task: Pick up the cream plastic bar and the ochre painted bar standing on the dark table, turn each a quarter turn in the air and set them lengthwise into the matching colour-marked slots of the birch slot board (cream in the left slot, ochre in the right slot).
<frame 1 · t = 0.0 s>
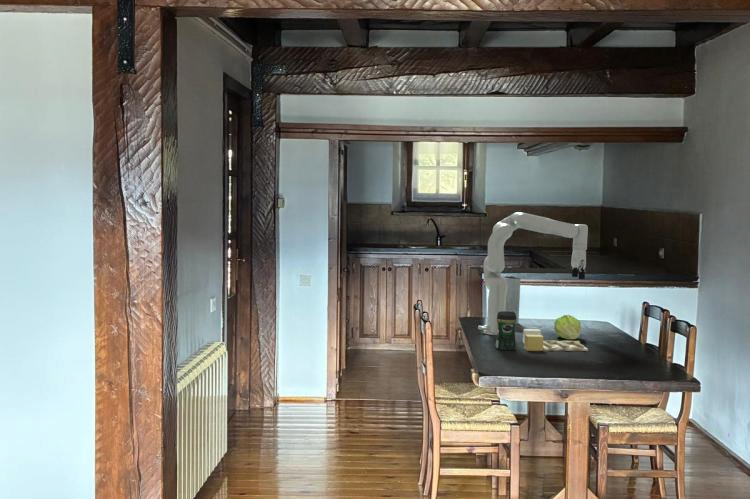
hand: (578, 278, 418), 31 cm above the table, fingers open, 9 cm apart
vase: (509, 323, 451), on the table
ochre bar: (533, 349, 375), on the table
slot board: (562, 348, 381), on the table
lettuce: (568, 339, 405), on the table
coffee jar: (505, 349, 375), on the table
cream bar: (531, 343, 391), on the table
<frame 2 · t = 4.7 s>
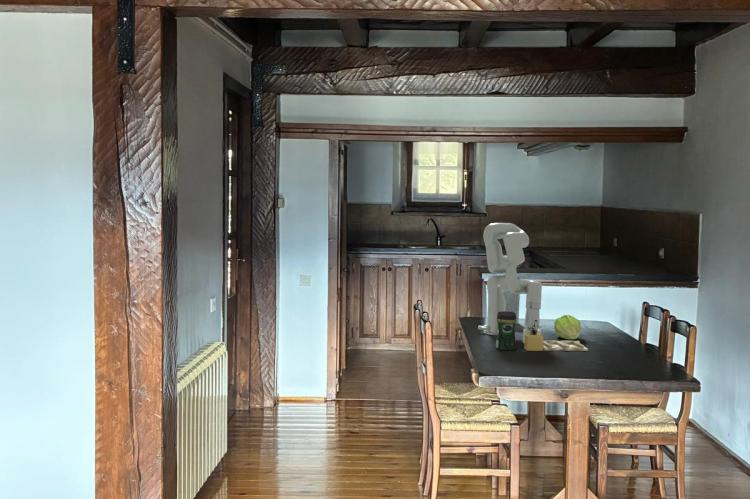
hand: (531, 340, 391), 1 cm above the table, fingers closed on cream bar, 4 cm apart
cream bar: (531, 343, 391), on the table, touching gripper
everything else where it was.
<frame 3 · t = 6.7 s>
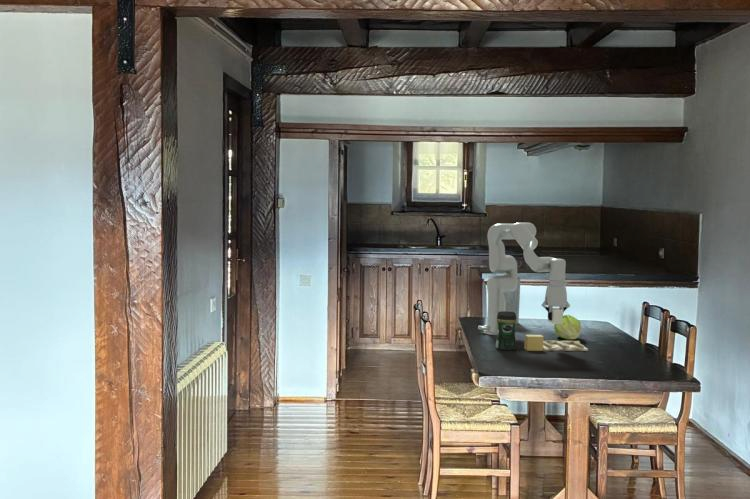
hand: (555, 319, 379), 14 cm above the table, fingers closed on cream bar, 4 cm apart
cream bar: (555, 322, 379), point 13 cm above the table, touching gripper
everything else where it was.
when the fingers open (4 cm above the table, at t = 9.0 s): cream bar stays where it is, resting on slot board.
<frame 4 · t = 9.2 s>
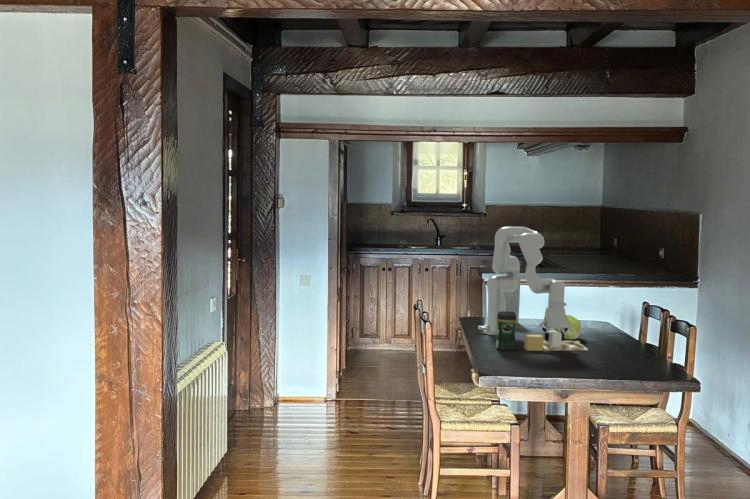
hand: (554, 340, 380), 4 cm above the table, fingers open, 6 cm apart
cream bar: (553, 345, 380), point 1 cm above the table, touching slot board
everything else where it was.
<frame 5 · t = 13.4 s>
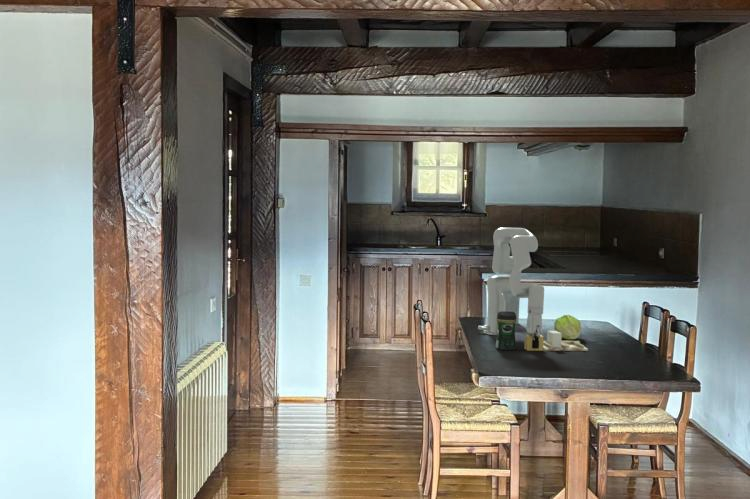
hand: (533, 346, 375), 1 cm above the table, fingers closed on ochre bar, 4 cm apart
ochre bar: (533, 349, 375), on the table, touching gripper
everything else where it was.
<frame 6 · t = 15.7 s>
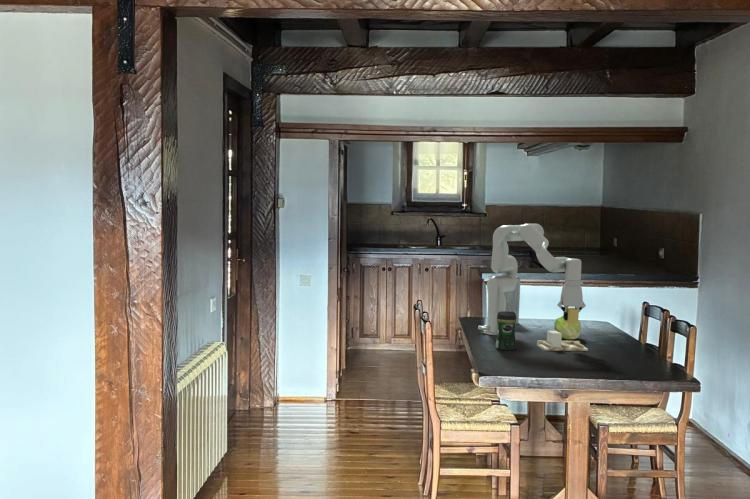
hand: (570, 319, 379), 15 cm above the table, fingers closed on ochre bar, 4 cm apart
ochre bar: (570, 322, 379), point 13 cm above the table, touching gripper
everything else where it was.
when the fingers open (3 cm above the table, at t = 18.2 s): ochre bar stays where it is, resting on slot board.
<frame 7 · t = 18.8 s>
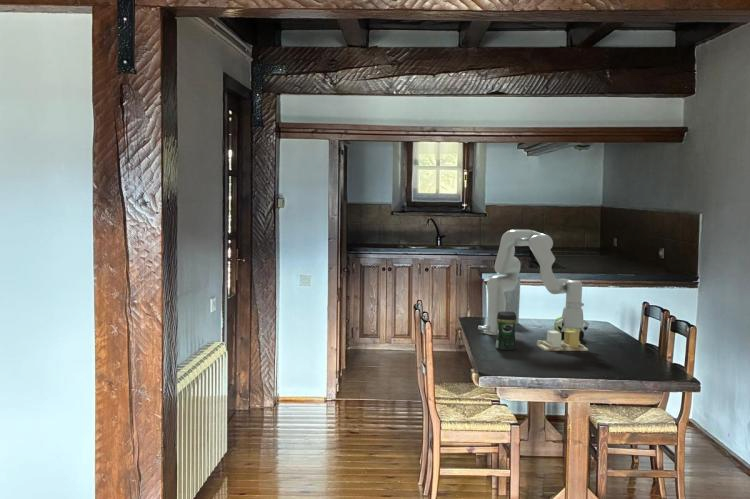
hand: (571, 339, 381), 4 cm above the table, fingers open, 9 cm apart
ochre bar: (571, 346, 381), point 1 cm above the table, touching slot board
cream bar: (553, 345, 380), point 1 cm above the table, touching gripper, slot board
everything else where it was.
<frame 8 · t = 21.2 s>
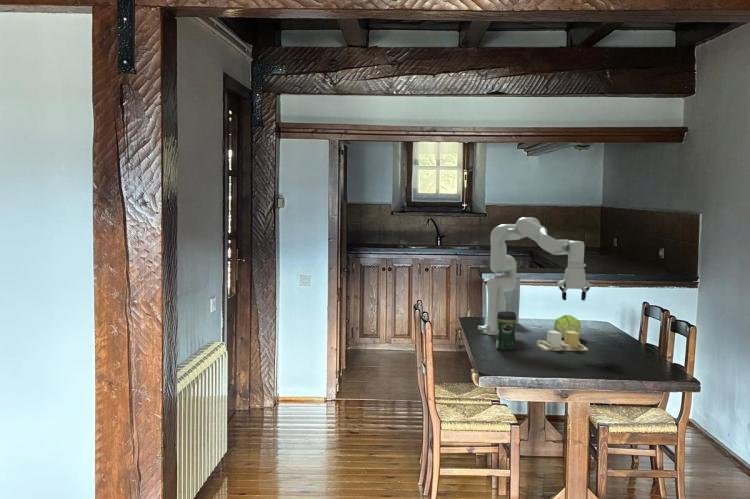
hand: (573, 300, 379), 24 cm above the table, fingers open, 9 cm apart
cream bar: (553, 345, 380), point 1 cm above the table, touching slot board
everything else where it was.
at the end: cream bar inside the target area on the slot board (0.0 cm from its centre), point 1.1 cm above the slot board's base; ochre bar inside the target area on the slot board (0.1 cm from its centre), point 1.1 cm above the slot board's base; the gripper is holding nothing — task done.
